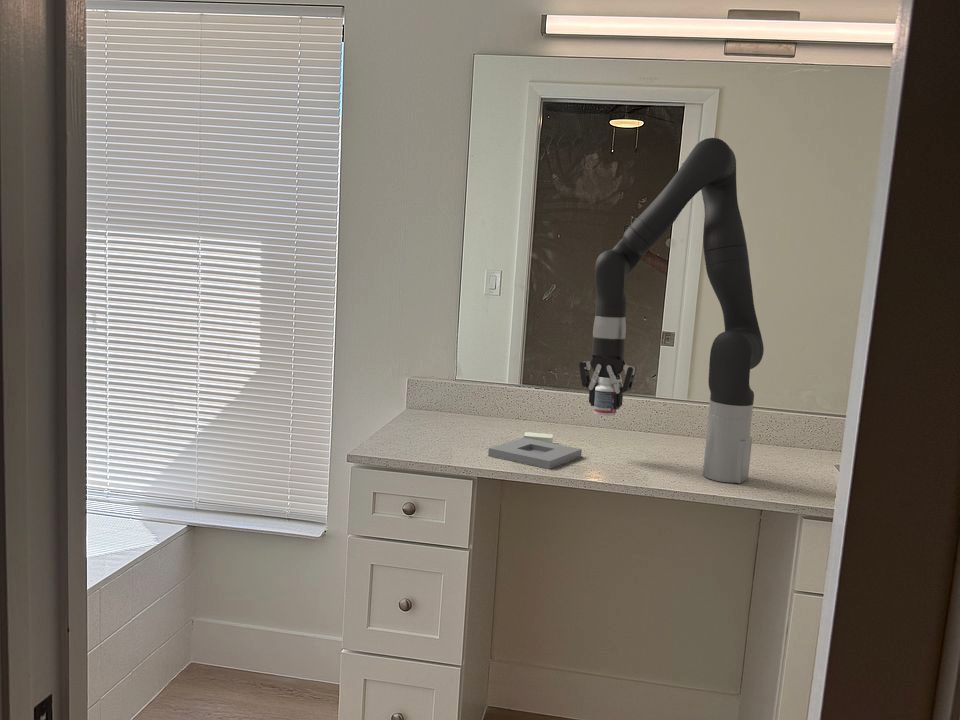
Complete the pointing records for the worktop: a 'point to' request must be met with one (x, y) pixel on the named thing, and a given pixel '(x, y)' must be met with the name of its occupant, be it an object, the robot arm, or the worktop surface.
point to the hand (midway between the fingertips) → (605, 406)
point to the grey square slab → (535, 452)
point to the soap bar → (539, 436)
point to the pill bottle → (604, 398)
